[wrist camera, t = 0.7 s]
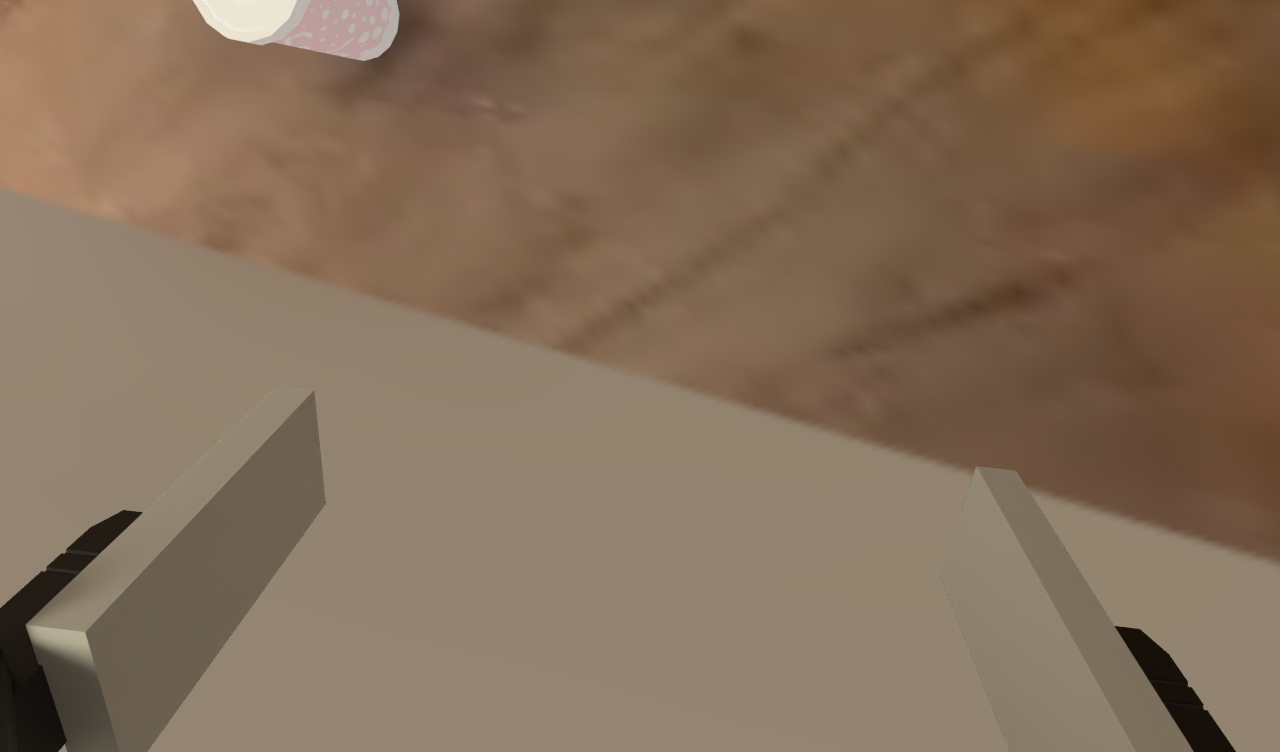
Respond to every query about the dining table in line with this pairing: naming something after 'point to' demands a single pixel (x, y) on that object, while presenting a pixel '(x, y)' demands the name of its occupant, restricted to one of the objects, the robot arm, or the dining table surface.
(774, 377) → the dining table surface
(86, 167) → the dining table surface
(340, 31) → the beverage cup
